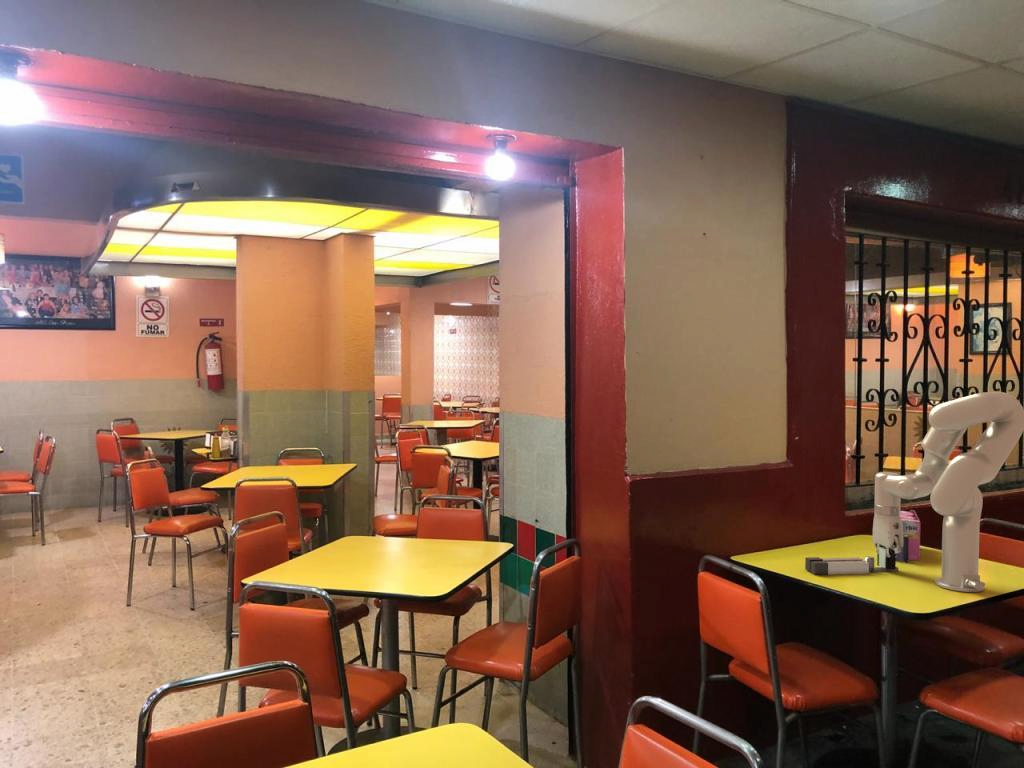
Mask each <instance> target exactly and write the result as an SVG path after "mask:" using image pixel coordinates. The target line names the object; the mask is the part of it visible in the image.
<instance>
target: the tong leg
mask: <svg viewBox="0 0 1024 768" xmlns="http://www.w3.org/2000/svg"><path fill="white" fill-rule="evenodd" d="M804 560H805V562H804V564H805V566H804V570H806V571H808V572H810V568H811V561H825V562H834V561H864V558H861V557H859V556H858V557H856V556H855V557H825V558H824V557H821V558H820V557H819V556H817V557H815V556H814V557H812V556H811V557H809V556H808V557H805V558H804Z"/></svg>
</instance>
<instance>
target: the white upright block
mask: <svg viewBox="0 0 1024 768" xmlns="http://www.w3.org/2000/svg"><path fill="white" fill-rule="evenodd" d="M892 550H893V549H890V552H891V551H892ZM885 557H887V552H886V547H879V566H878V567H883V568H885Z"/></svg>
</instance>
